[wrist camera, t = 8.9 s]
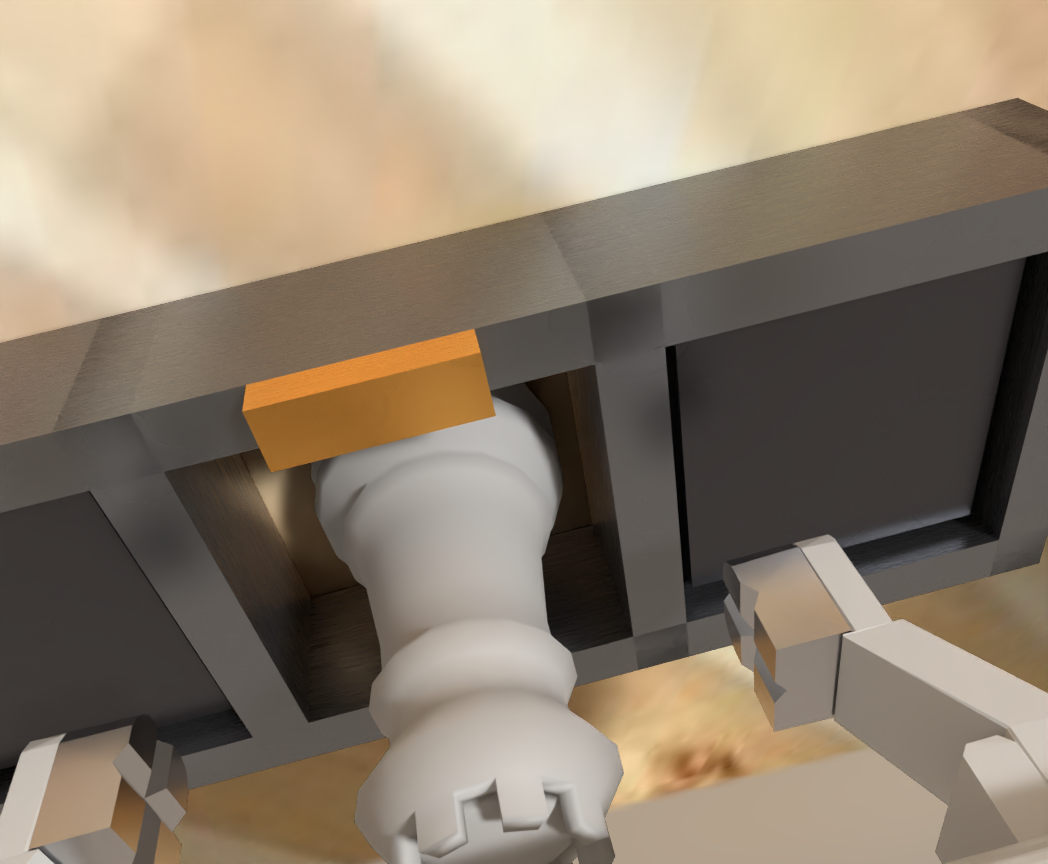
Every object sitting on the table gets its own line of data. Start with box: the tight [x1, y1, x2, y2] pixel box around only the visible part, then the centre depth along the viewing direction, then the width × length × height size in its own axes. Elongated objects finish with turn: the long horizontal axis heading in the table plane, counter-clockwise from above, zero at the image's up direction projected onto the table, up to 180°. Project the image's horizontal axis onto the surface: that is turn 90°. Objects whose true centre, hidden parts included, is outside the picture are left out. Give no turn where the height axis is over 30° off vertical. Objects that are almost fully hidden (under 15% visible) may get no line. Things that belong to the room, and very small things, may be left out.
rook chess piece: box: [311, 383, 624, 864], centre depth 13 cm, size 4×4×8 cm
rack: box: [0, 98, 1048, 815], centre depth 14 cm, size 22×8×4 cm, turn 100°
